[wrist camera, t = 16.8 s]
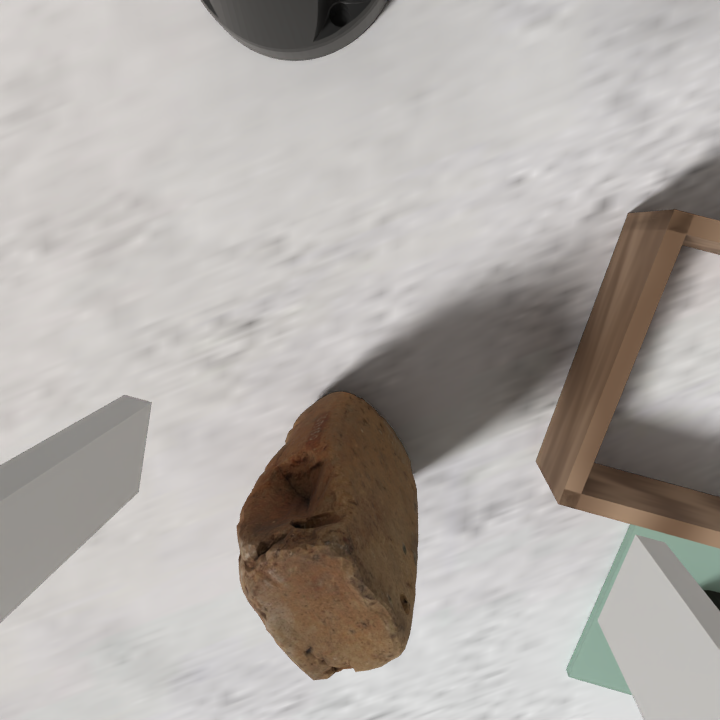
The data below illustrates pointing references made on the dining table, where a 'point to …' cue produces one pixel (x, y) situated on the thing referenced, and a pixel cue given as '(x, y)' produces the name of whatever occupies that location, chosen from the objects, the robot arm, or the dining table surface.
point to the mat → (593, 650)
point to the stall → (608, 378)
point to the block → (334, 540)
